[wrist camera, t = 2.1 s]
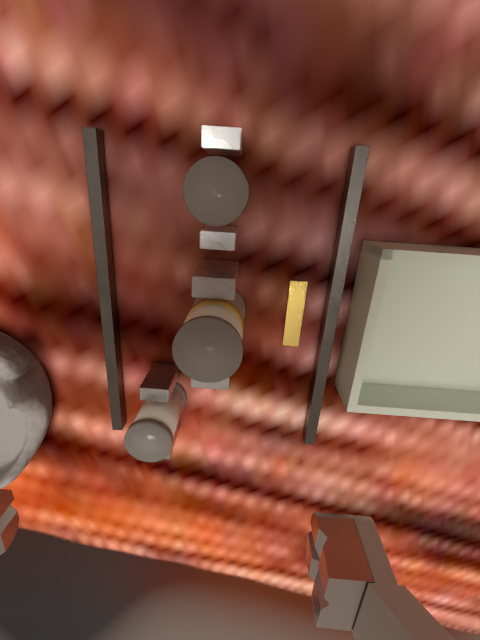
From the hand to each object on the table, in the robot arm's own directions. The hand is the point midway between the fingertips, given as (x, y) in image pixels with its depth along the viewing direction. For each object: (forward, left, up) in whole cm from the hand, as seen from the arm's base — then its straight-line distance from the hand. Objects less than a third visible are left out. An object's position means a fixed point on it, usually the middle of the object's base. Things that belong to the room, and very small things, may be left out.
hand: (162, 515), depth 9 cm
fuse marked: (0, 0, -16) cm, 16 cm away
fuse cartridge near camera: (+8, -4, -16) cm, 19 cm away
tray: (0, +19, -16) cm, 25 cm away
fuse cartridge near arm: (-8, 0, -16) cm, 18 cm away
